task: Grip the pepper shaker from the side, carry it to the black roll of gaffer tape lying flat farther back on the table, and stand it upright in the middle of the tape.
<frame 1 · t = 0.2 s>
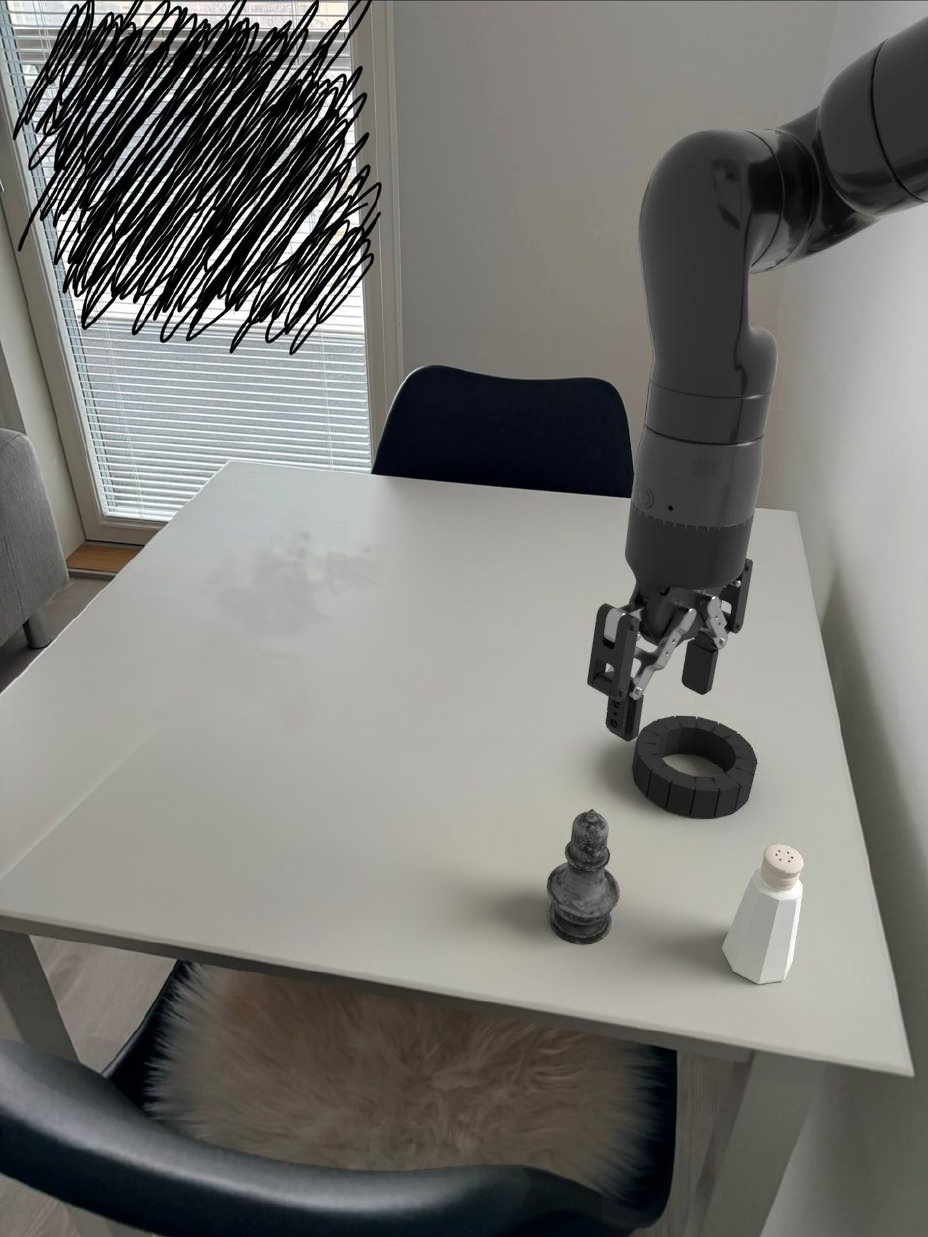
hand: (660, 710, 62), 21 cm above the table, tool pointing down, fingers open, 8 cm apart
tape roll: (690, 778, 88), on the table
pepper shaker: (755, 958, 69), on the table
grey chess piece: (579, 919, 72), on the table
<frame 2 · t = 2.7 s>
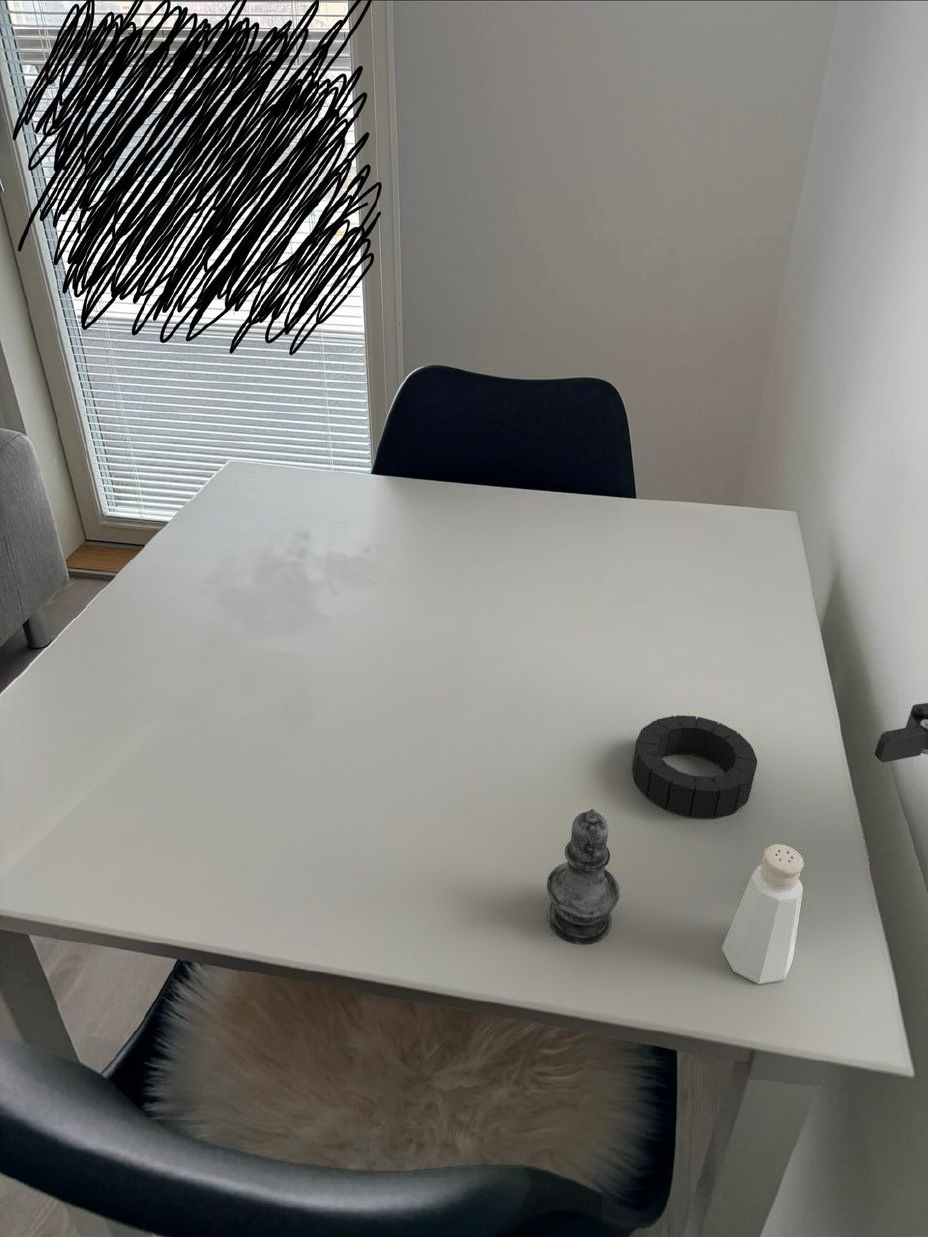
hand: (917, 787, 63), 16 cm above the table, tool horizontal, fingers open, 8 cm apart
nothing on the table moved.
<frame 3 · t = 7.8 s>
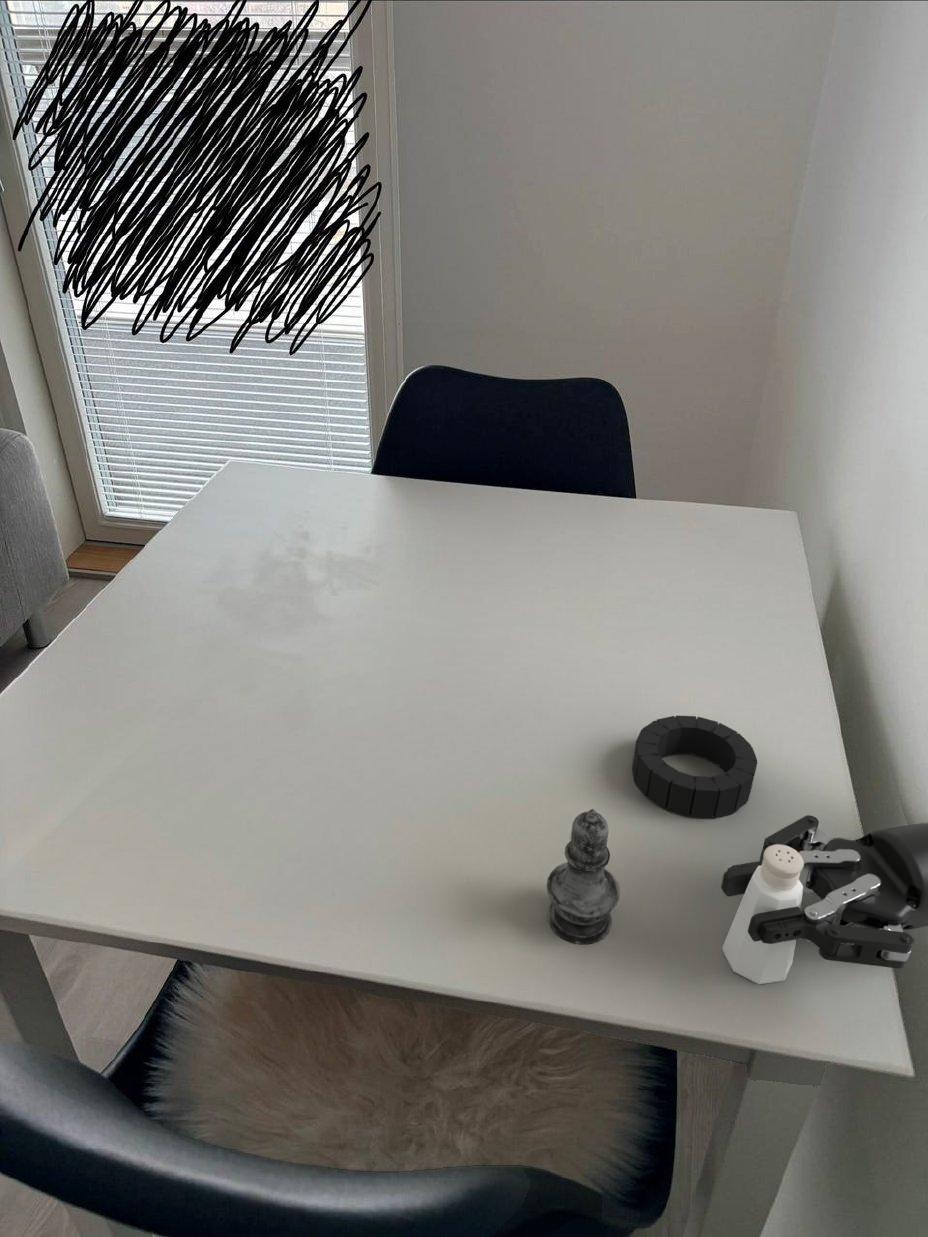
hand: (738, 905, 65), 6 cm above the table, tool horizontal, fingers closed on pepper shaker, 3 cm apart
pepper shaker: (756, 958, 69), on the table, touching gripper
everything else where it was.
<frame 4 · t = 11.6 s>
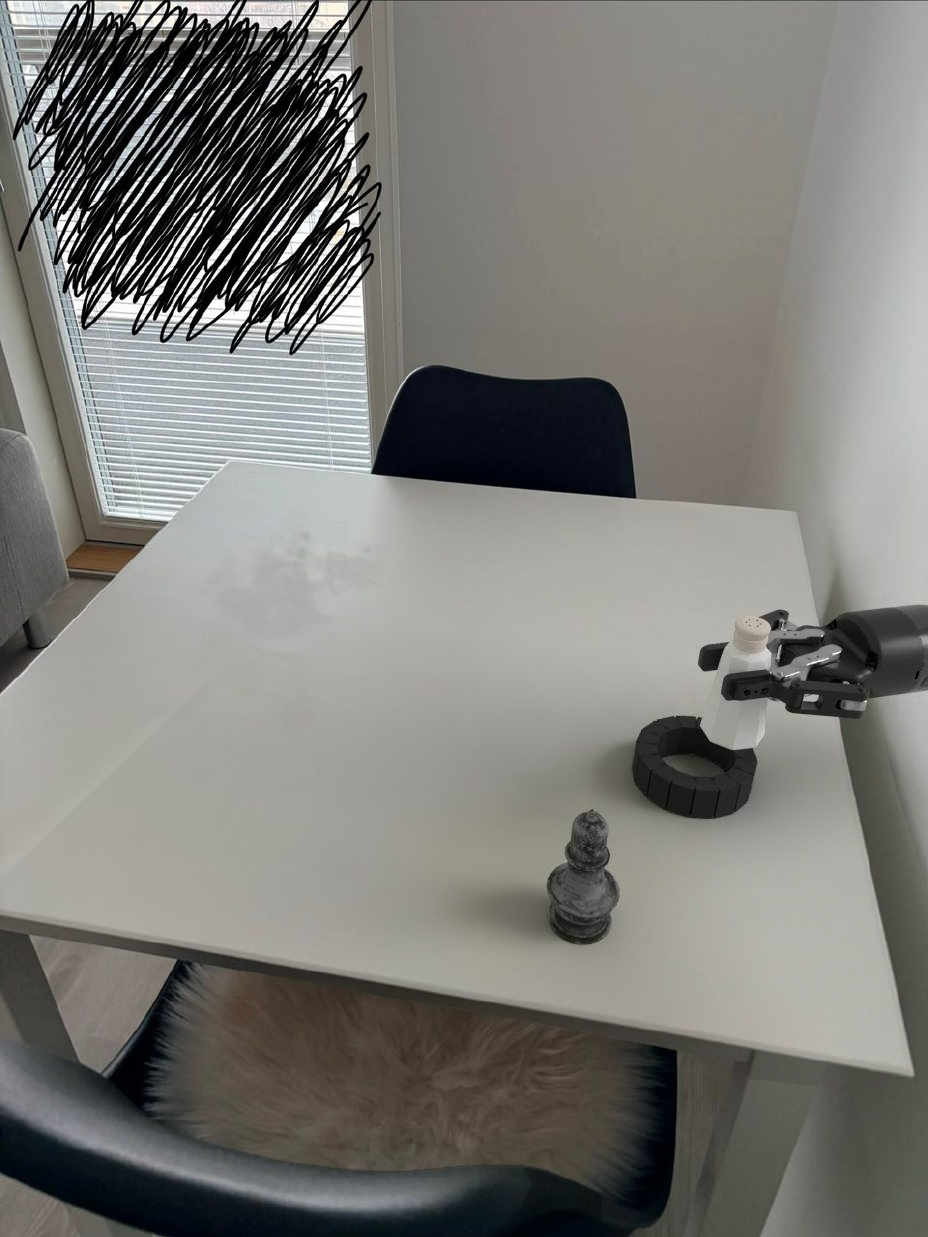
hand: (713, 673, 72), 18 cm above the table, tool horizontal, fingers closed on pepper shaker, 3 cm apart
pepper shaker: (731, 733, 76), point 11 cm above the table, touching gripper
everything else where it was.
when the fingers open (7 cm above the table, at t = 16.0 s): pepper shaker stays where it is, resting in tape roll.
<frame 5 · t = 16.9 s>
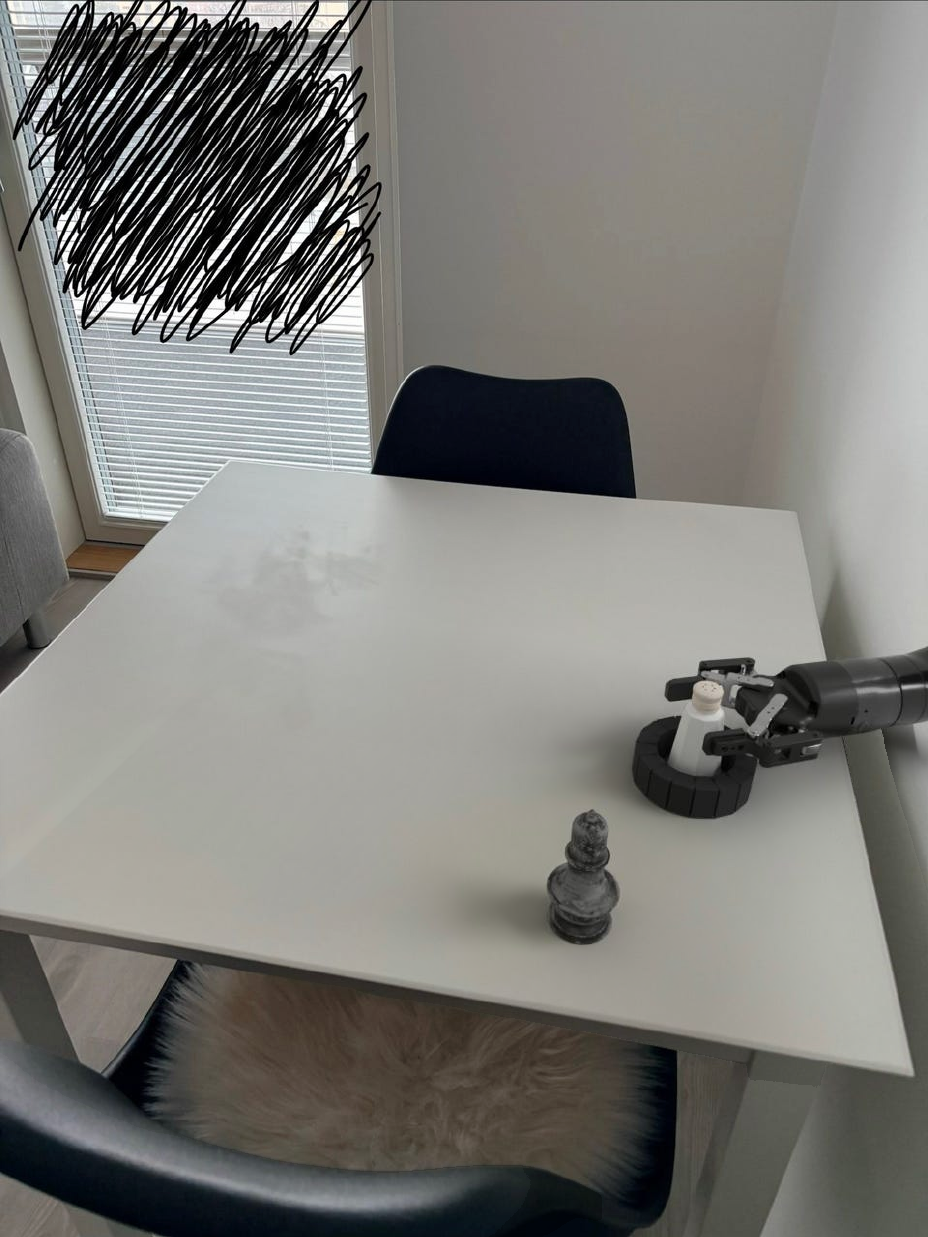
hand: (684, 717, 83), 8 cm above the table, tool horizontal, fingers open, 8 cm apart
pepper shaker: (691, 779, 88), resting in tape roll
everything else where it was.
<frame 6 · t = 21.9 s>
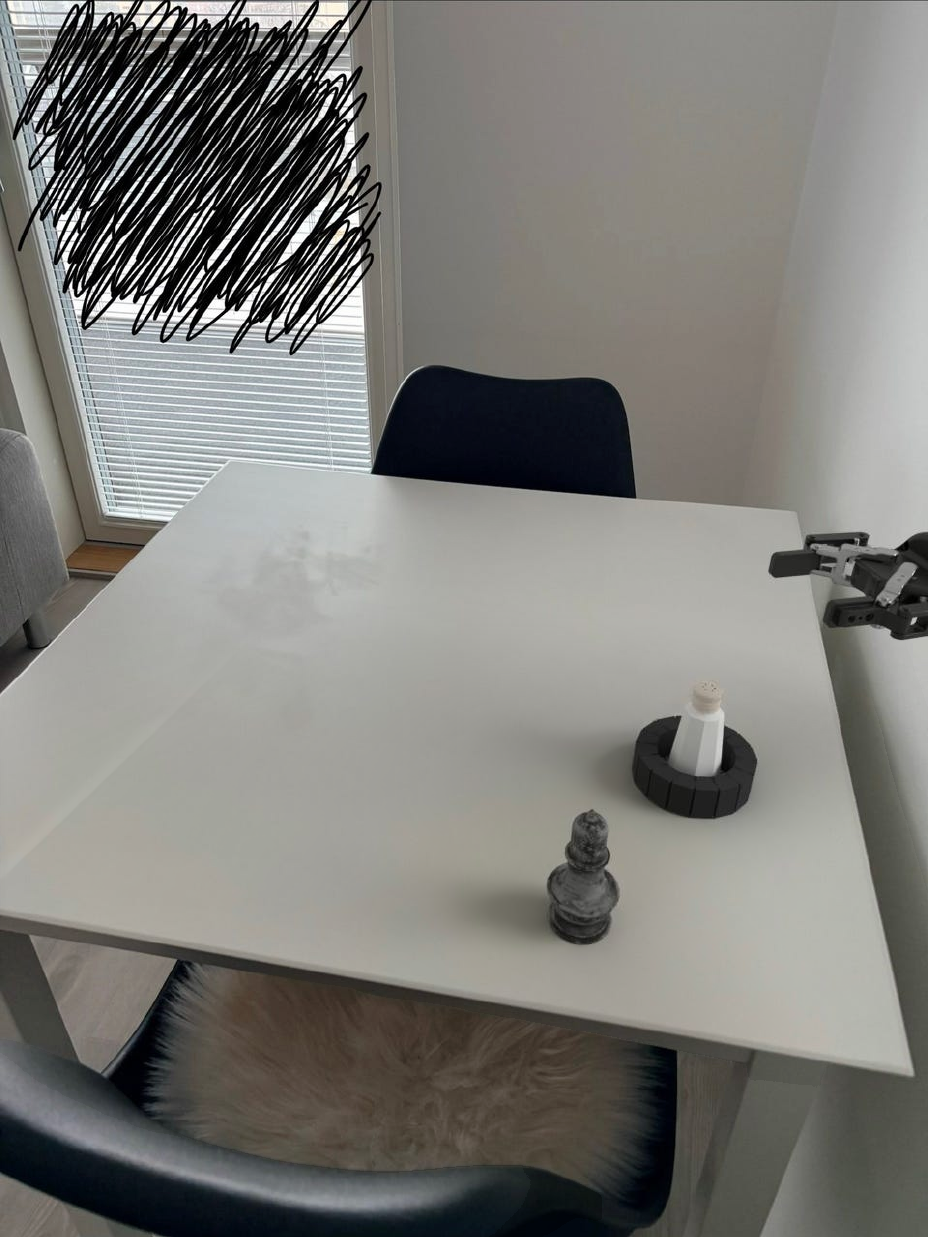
hand: (798, 588, 72), 24 cm above the table, tool horizontal, fingers open, 8 cm apart
nothing on the table moved.
at the end: pepper shaker 0.1 cm off-centre on the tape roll, point 0.0 cm above the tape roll's base; pepper shaker tilted 0°; the gripper is holding nothing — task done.
